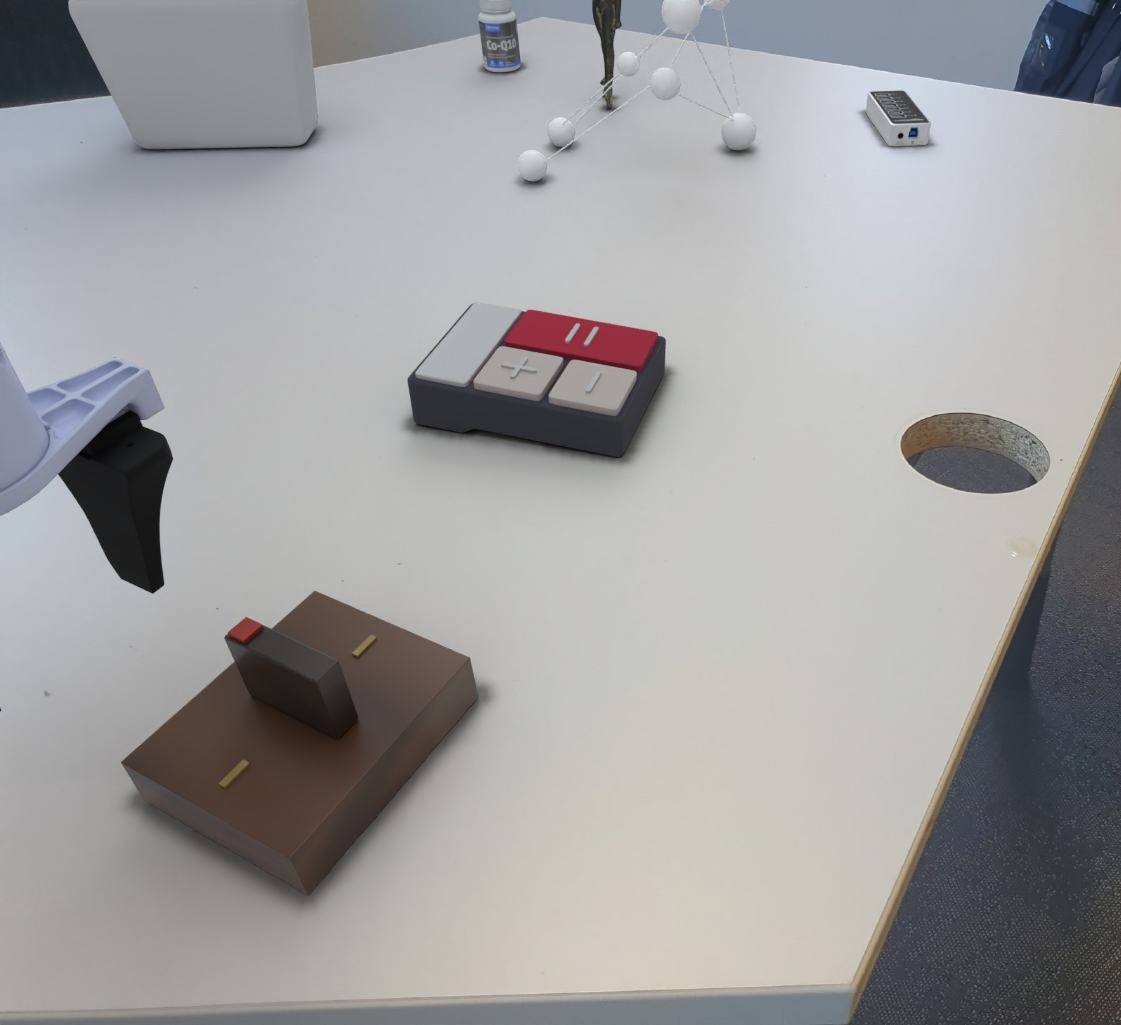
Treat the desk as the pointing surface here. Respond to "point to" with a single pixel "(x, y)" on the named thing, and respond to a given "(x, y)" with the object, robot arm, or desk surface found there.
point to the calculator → (539, 378)
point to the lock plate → (305, 746)
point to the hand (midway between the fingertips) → (65, 640)
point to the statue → (607, 38)
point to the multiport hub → (898, 118)
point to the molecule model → (665, 84)
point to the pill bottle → (499, 36)
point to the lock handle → (292, 677)
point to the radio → (205, 69)
